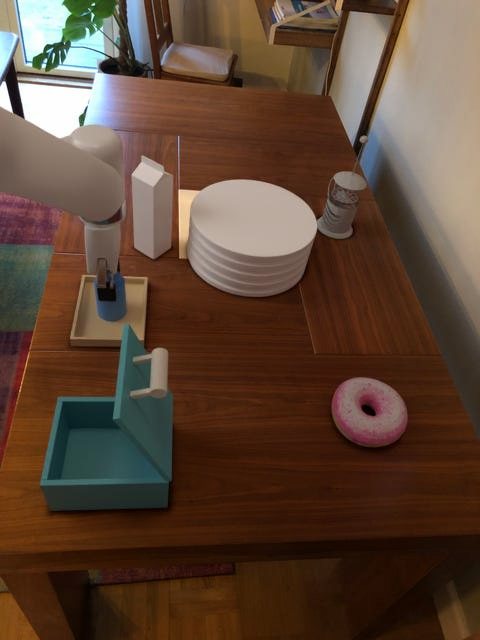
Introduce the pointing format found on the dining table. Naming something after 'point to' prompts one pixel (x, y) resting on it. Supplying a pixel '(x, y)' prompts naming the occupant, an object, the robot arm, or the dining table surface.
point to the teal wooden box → (96, 461)
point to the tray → (100, 331)
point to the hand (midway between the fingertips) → (109, 285)
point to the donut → (363, 426)
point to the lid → (145, 401)
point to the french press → (342, 203)
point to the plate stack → (250, 237)
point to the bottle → (113, 309)
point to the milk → (152, 208)
